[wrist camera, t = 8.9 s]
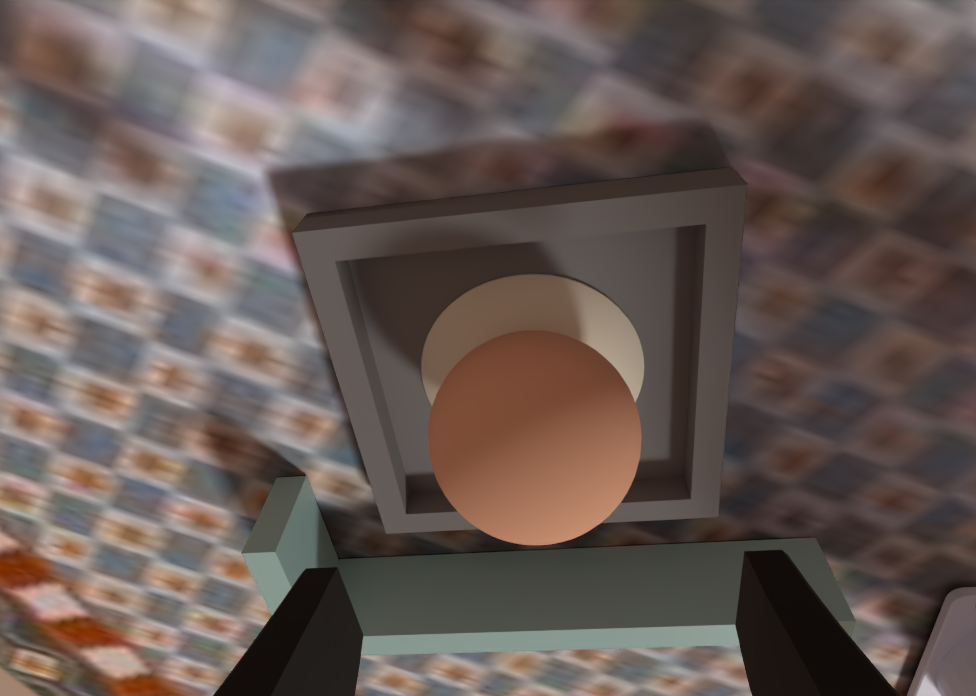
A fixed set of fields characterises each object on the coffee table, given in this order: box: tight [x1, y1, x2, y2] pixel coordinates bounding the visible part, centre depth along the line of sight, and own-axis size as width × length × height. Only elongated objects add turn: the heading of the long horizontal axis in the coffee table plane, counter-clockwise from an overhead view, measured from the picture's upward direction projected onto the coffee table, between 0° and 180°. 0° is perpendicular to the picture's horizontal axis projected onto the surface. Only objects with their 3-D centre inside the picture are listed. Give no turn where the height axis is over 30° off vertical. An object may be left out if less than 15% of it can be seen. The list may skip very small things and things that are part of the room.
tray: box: [292, 167, 747, 534], centre depth 17 cm, size 10×10×1 cm
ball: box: [428, 330, 642, 545], centre depth 15 cm, size 5×5×5 cm
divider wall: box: [241, 476, 856, 655], centre depth 19 cm, size 17×5×3 cm, turn 97°
